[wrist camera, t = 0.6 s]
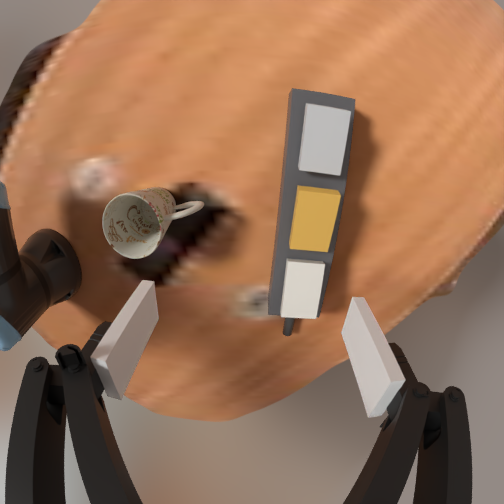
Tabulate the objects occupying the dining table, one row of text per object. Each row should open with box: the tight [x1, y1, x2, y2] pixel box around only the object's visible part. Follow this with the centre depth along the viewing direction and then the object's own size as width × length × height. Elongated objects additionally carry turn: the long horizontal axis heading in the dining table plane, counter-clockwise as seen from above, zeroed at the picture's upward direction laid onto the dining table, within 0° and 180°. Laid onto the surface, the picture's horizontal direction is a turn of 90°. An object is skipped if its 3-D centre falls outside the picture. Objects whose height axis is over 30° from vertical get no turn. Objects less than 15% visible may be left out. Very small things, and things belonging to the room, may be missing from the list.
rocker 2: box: [289, 185, 341, 252], centre depth 33 cm, size 5×8×2 cm, turn 176°
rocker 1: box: [298, 103, 351, 176], centre depth 29 cm, size 5×8×2 cm, turn 176°
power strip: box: [268, 88, 355, 336], centre depth 38 cm, size 8×38×5 cm, turn 176°
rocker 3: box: [280, 258, 325, 319], centre depth 37 cm, size 5×8×2 cm, turn 176°
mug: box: [102, 187, 204, 259], centre depth 35 cm, size 8×13×10 cm, turn 101°
